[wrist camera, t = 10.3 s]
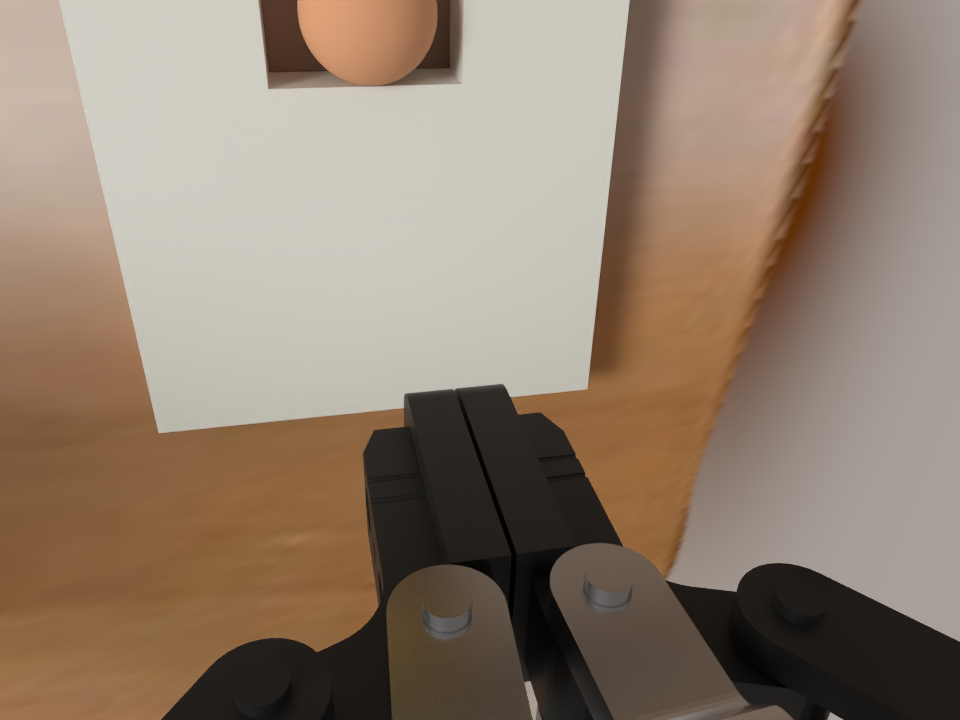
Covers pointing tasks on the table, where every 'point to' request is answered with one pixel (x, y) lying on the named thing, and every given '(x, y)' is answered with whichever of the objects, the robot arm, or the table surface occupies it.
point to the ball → (368, 36)
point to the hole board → (351, 206)
